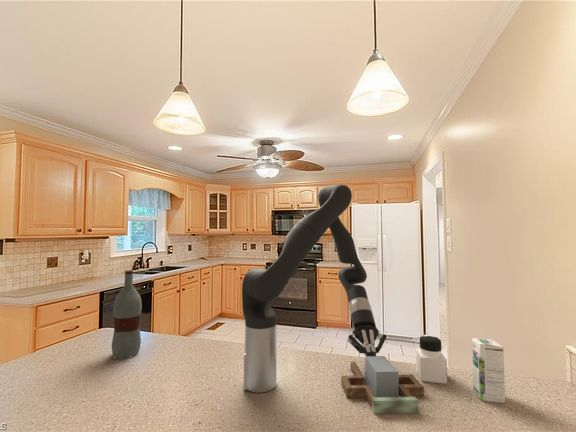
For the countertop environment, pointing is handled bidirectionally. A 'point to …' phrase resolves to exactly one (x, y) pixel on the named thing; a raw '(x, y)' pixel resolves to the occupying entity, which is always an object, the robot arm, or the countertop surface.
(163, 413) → the countertop surface
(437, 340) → the medicine bottle
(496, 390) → the syrup box
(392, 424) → the countertop surface
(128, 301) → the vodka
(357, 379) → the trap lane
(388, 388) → the slate block
